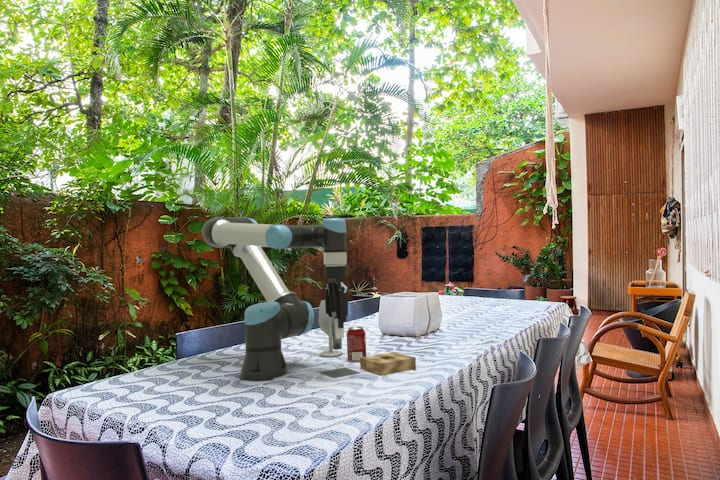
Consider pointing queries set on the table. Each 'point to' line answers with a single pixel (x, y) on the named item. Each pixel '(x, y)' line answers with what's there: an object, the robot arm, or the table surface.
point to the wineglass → (326, 330)
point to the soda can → (356, 344)
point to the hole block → (387, 363)
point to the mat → (339, 372)
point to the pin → (336, 342)
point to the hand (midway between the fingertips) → (337, 337)
